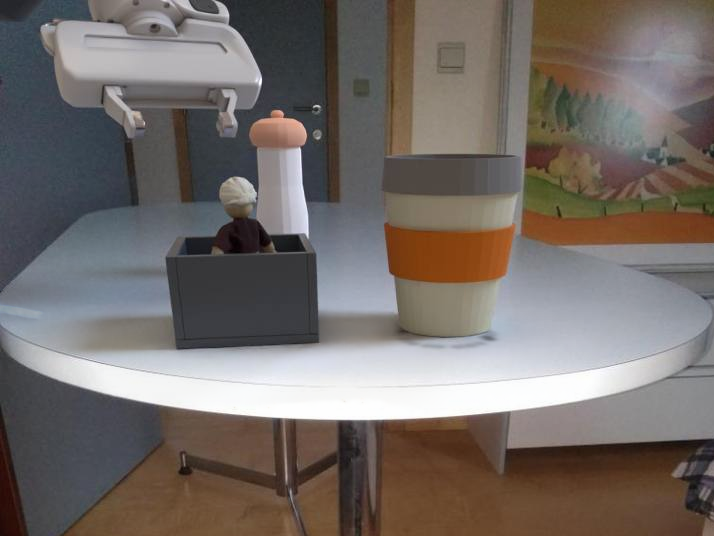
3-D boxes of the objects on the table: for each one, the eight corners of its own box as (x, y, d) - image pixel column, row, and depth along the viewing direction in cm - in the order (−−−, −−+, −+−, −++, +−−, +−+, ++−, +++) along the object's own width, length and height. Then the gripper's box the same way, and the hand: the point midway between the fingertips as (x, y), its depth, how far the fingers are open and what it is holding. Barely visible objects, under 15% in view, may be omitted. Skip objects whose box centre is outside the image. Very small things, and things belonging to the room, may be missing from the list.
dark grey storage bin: (176, 349, 63) (165, 257, 60) (186, 315, 74) (177, 236, 71) (319, 342, 65) (316, 252, 61) (308, 310, 76) (305, 233, 73)
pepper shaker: (246, 272, 96) (234, 110, 88) (290, 265, 101) (282, 111, 92) (279, 279, 91) (270, 109, 83) (323, 272, 96) (319, 110, 87)
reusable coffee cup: (420, 305, 78) (424, 153, 71) (530, 319, 72) (546, 154, 65) (355, 330, 69) (353, 157, 62) (475, 349, 62) (488, 160, 56)
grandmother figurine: (255, 309, 73) (246, 173, 67) (286, 313, 71) (279, 175, 66) (204, 326, 67) (189, 178, 61) (236, 331, 65) (223, 180, 60)
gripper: (33, -13, 66) (77, 105, 63) (239, 5, 76) (286, 108, 73) (34, 47, 71) (74, 159, 68) (226, 57, 81) (269, 155, 78)
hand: (185, 133), depth 71 cm, fingers open, 8 cm apart
